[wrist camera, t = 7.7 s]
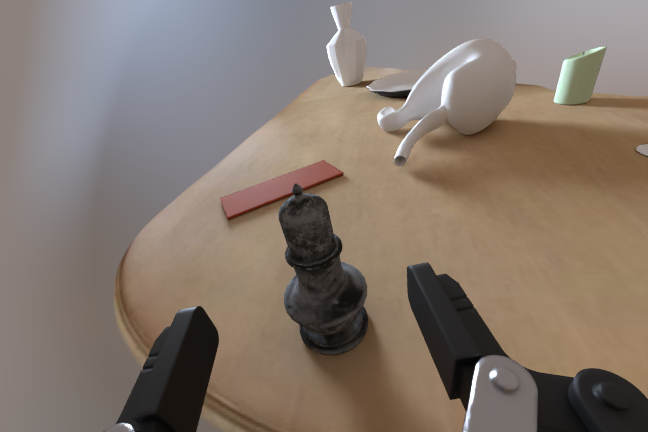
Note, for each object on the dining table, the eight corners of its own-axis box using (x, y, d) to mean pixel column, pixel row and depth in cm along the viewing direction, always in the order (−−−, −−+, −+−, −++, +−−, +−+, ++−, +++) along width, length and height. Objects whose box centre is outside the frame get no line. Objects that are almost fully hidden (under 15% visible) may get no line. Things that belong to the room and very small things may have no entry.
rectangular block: (323, 162, 48) (323, 159, 48) (343, 174, 42) (343, 172, 42) (221, 200, 43) (220, 198, 43) (228, 220, 37) (227, 217, 37)
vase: (369, 83, 101) (361, -2, 87) (331, 90, 104) (317, 9, 91) (369, 77, 113) (362, 1, 99) (335, 83, 116) (323, 10, 102)
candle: (550, 104, 50) (562, 53, 46) (557, 97, 53) (569, 47, 48) (586, 105, 47) (604, 49, 42) (592, 97, 50) (609, 43, 45)
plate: (469, 93, 66) (470, 82, 65) (354, 104, 79) (353, 95, 78) (475, 69, 86) (476, 61, 85) (383, 81, 100) (382, 73, 99)
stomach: (392, 138, 63) (379, 204, 46) (369, 82, 56) (344, 135, 39) (511, 95, 51) (553, 162, 34) (500, 18, 45) (544, 54, 28)
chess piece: (299, 295, 24) (255, 169, 18) (367, 287, 23) (347, 153, 17) (291, 362, 19) (226, 222, 13) (377, 355, 19) (354, 203, 12)
